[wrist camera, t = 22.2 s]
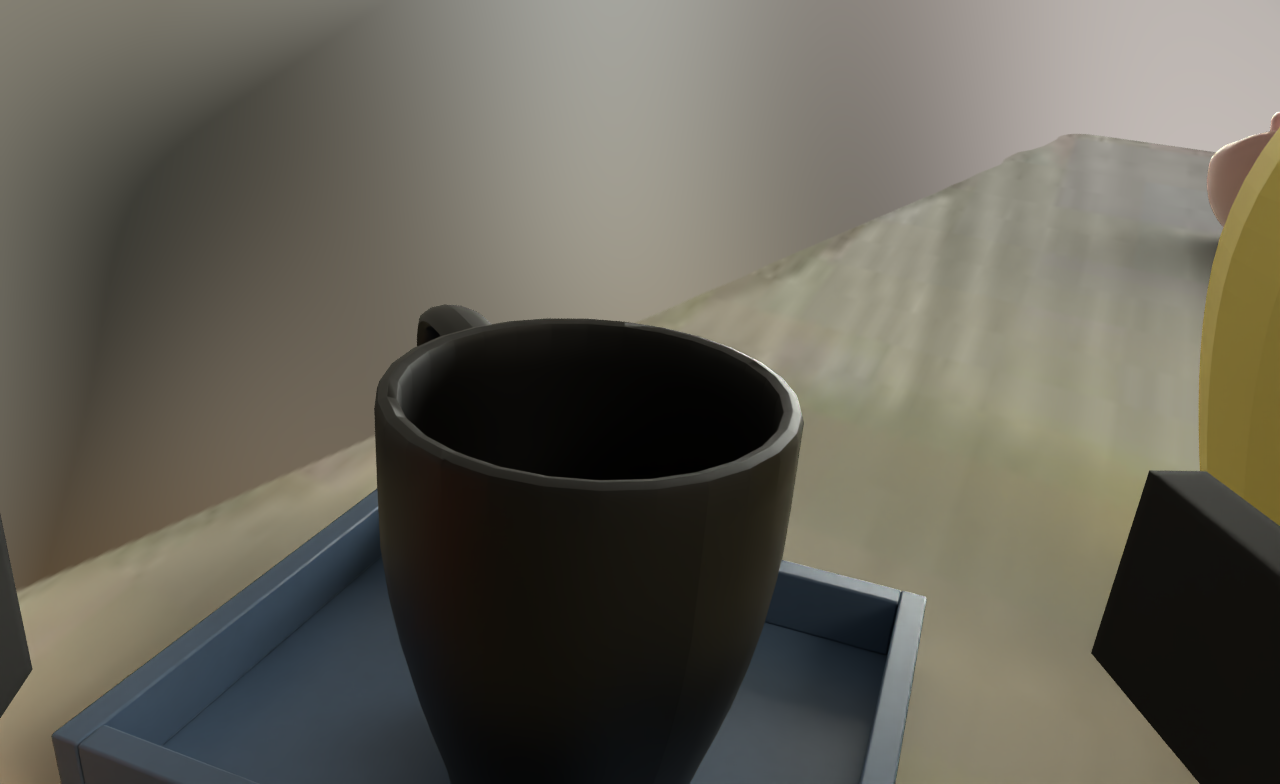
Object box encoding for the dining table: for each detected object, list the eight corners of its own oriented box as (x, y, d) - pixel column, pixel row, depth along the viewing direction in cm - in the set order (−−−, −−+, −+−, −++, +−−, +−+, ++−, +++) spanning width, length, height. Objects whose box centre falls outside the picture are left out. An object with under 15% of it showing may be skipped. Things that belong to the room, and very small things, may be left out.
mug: (576, 552, 31) (592, 259, 27) (821, 826, 22) (896, 438, 18) (308, 618, 27) (283, 285, 23) (467, 988, 18) (470, 534, 14)
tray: (66, 817, 21) (49, 734, 20) (409, 525, 33) (408, 463, 32) (828, 1139, 16) (850, 1048, 15) (911, 663, 28) (927, 596, 27)
